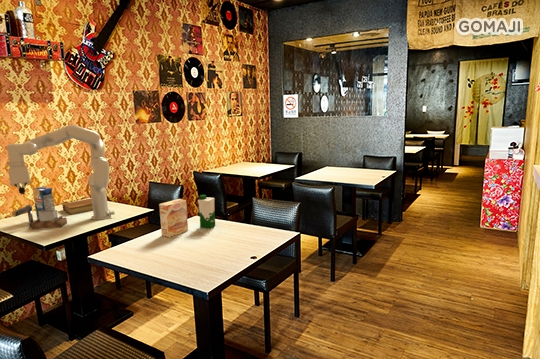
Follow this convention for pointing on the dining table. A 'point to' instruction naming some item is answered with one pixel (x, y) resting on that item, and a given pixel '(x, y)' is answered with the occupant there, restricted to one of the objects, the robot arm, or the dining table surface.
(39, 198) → the beverage box
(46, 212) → the light grey block
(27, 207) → the lever
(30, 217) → the post
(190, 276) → the dining table surface
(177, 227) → the coffeecake box
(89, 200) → the diary
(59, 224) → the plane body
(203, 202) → the milk carton
